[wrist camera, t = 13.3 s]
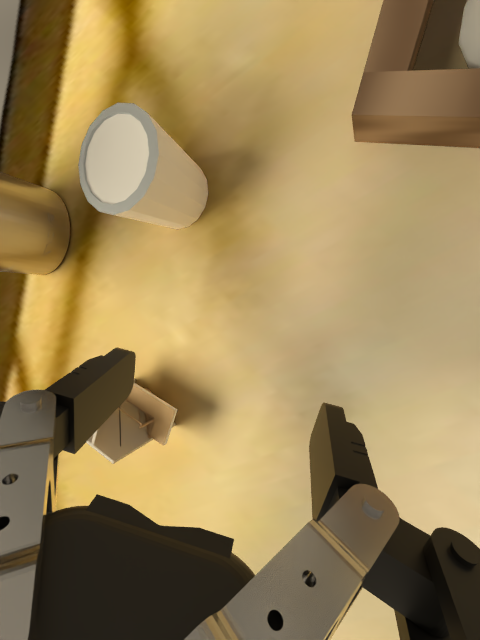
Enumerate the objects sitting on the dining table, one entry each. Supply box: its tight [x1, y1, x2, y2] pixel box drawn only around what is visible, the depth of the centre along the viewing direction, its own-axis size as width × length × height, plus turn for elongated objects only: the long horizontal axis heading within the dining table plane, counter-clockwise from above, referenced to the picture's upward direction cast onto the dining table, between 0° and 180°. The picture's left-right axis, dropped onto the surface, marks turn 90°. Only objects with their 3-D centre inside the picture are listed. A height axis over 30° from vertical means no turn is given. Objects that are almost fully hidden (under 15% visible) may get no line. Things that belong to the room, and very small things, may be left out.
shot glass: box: [78, 103, 208, 229], centre depth 22 cm, size 7×7×7 cm
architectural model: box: [86, 379, 177, 464], centre depth 24 cm, size 3×7×7 cm, turn 69°
